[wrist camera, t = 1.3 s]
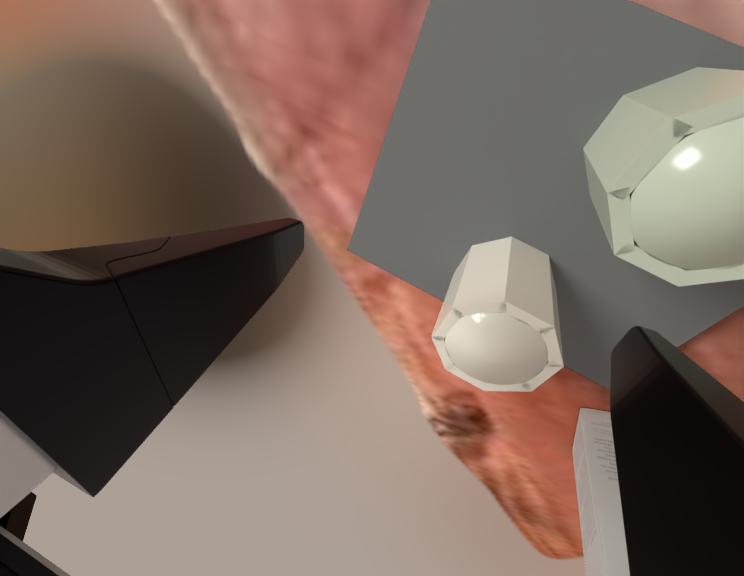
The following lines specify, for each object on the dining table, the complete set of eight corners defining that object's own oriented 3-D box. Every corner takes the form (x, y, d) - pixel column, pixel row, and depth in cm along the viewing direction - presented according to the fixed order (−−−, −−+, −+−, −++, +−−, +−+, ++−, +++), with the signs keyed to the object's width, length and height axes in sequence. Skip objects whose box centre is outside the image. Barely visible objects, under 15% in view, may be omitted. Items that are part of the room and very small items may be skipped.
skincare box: (628, 459, 28) (674, 652, 19) (571, 447, 30) (587, 618, 21) (645, 415, 25) (708, 619, 16) (579, 404, 27) (603, 582, 18)
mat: (966, 145, 13) (994, 150, 12) (606, 379, 24) (608, 389, 24) (458, -66, 15) (454, -72, 14) (352, 244, 26) (347, 250, 26)
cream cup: (575, 268, 20) (590, 346, 14) (516, 328, 24) (511, 406, 18) (486, 223, 20) (469, 282, 15) (443, 289, 24) (418, 354, 19)
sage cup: (799, 110, 13) (979, 148, 8) (665, 230, 17) (725, 309, 12) (656, 49, 14) (735, 47, 8) (559, 180, 18) (570, 233, 12)
